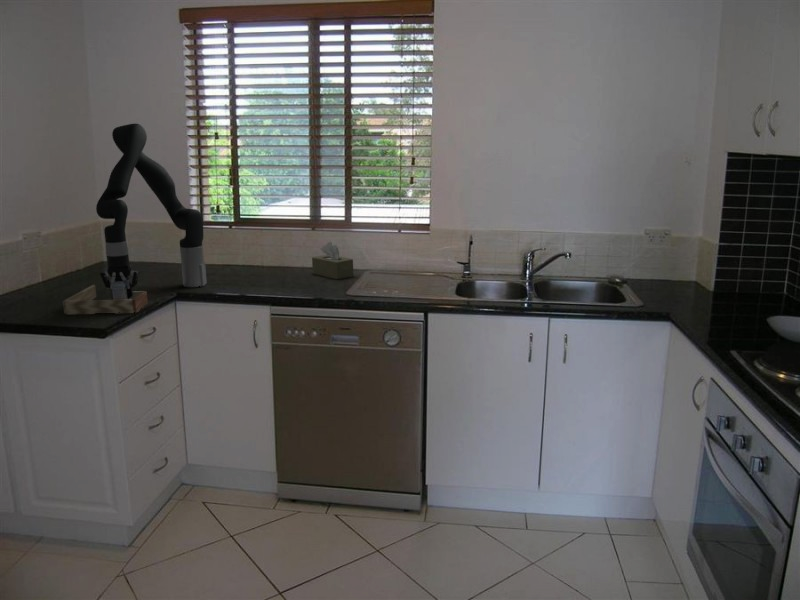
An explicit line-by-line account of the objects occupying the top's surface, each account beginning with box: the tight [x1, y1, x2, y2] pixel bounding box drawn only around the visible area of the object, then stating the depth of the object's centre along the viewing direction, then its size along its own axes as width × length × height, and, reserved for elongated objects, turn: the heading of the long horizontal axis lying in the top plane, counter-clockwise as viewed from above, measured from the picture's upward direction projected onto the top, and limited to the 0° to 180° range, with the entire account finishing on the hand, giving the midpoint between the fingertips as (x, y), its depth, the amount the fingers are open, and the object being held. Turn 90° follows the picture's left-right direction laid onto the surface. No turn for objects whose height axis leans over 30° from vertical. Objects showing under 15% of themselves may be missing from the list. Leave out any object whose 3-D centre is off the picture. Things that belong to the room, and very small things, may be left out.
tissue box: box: [311, 241, 354, 280], centre depth 304 cm, size 19×10×16 cm, turn 45°
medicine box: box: [110, 278, 132, 300], centre depth 248 cm, size 8×4×9 cm, turn 4°
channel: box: [62, 284, 149, 315], centre depth 255 cm, size 26×27×5 cm
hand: (122, 297), depth 249 cm, fingers closed on medicine box, 4 cm apart
